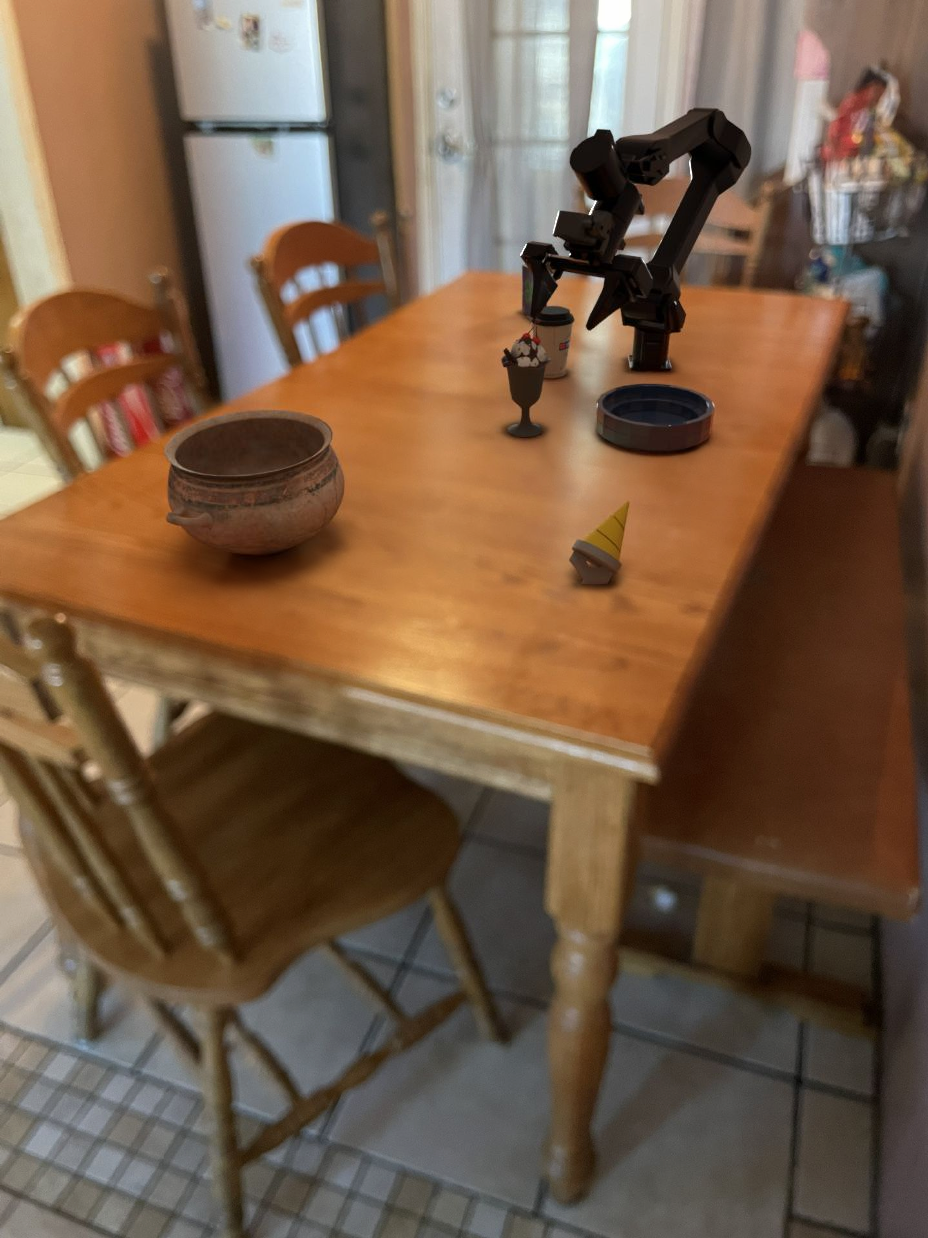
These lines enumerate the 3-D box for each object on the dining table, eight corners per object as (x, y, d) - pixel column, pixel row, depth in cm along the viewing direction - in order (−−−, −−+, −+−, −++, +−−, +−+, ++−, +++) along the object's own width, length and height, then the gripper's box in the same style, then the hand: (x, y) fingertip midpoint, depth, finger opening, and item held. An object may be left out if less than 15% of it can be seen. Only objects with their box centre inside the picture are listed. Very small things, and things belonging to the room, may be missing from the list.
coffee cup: (523, 377, 145) (523, 314, 140) (536, 364, 151) (538, 302, 145) (565, 382, 143) (567, 318, 137) (577, 368, 148) (580, 305, 143)
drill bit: (555, 573, 97) (602, 492, 97) (599, 599, 97) (646, 517, 97) (560, 568, 91) (610, 483, 92) (606, 595, 91) (656, 509, 92)
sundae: (554, 423, 129) (557, 316, 121) (542, 442, 124) (544, 331, 116) (509, 419, 131) (509, 313, 123) (495, 437, 126) (494, 327, 118)
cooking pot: (258, 618, 90) (238, 507, 84) (123, 572, 98) (94, 468, 92) (396, 513, 108) (389, 415, 101) (272, 481, 116) (258, 388, 109)
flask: (519, 311, 176) (520, 253, 170) (533, 309, 177) (534, 251, 171) (536, 324, 169) (537, 264, 163) (551, 323, 169) (553, 262, 163)
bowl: (593, 411, 133) (594, 383, 131) (702, 411, 132) (705, 383, 129) (597, 455, 120) (599, 425, 118) (718, 456, 119) (722, 426, 117)
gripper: (529, 177, 124) (479, 279, 123) (649, 190, 114) (596, 300, 113) (560, 229, 133) (514, 323, 133) (674, 244, 123) (625, 347, 123)
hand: (559, 323), depth 125 cm, fingers open, 9 cm apart
